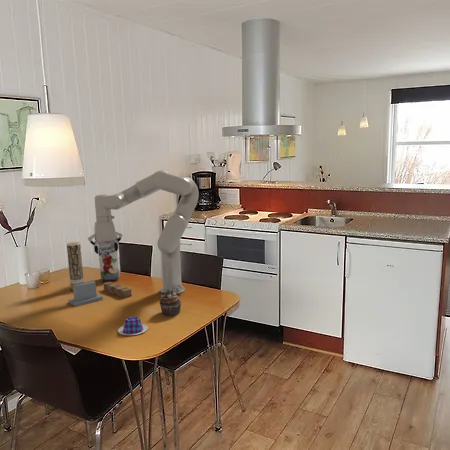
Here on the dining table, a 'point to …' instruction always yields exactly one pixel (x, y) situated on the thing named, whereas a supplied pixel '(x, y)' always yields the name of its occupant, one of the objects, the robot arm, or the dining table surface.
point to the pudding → (132, 326)
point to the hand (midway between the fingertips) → (106, 252)
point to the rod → (117, 289)
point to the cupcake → (170, 303)
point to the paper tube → (75, 263)
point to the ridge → (84, 293)
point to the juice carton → (109, 261)
